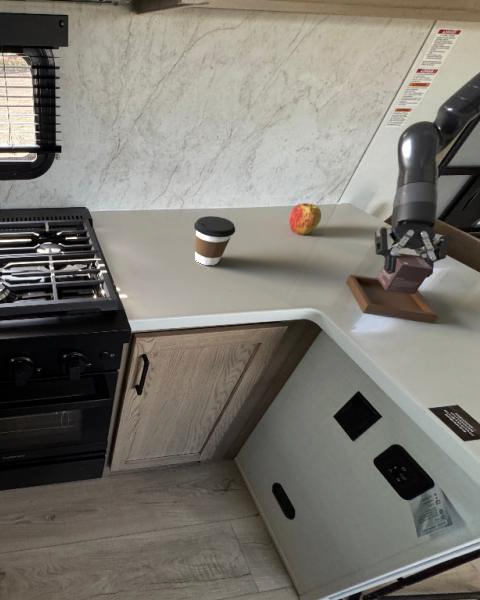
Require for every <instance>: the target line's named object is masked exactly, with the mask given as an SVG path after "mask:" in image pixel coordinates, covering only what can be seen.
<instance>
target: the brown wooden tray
mask: <svg viewBox="0 0 480 600" xmlns="http://www.w3.org/2000/svg"><path fill="white" fill-rule="evenodd" d="M345 283H346V285H347V287H348V289H349V290H350V292H351V294H352V296H353V298H354V299H355V301H356V303H357V304H358V307H359V308H360V309H361V311H362V313H363V314H369V315H374V316H375V315H376V316H383V317H388V318H394V317H396V318H395V319H401V318H402V319H401V320H407V319H409V320H408V321H415V322H420V323H421V322H422V323H426V324H435V323H436V321H437V320H438V318H440V314H439V313H438V312H437V311H436V310H435V308H434V307H433V306H432V305H431V304H430V302H429V301H428V299H426V298H425V296H424V295H423V294H422V293H421V292H420V291H419V289H418V290H417V291H416V293H415V294H408V293H401V292H394V291H387V290H385V289H384V287H383V286H382V284H381V283H380V281H379V280H378V278H377V277H370V276H362V275H355V274H349V275H348V277H347V279H346V280H345Z"/></svg>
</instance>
